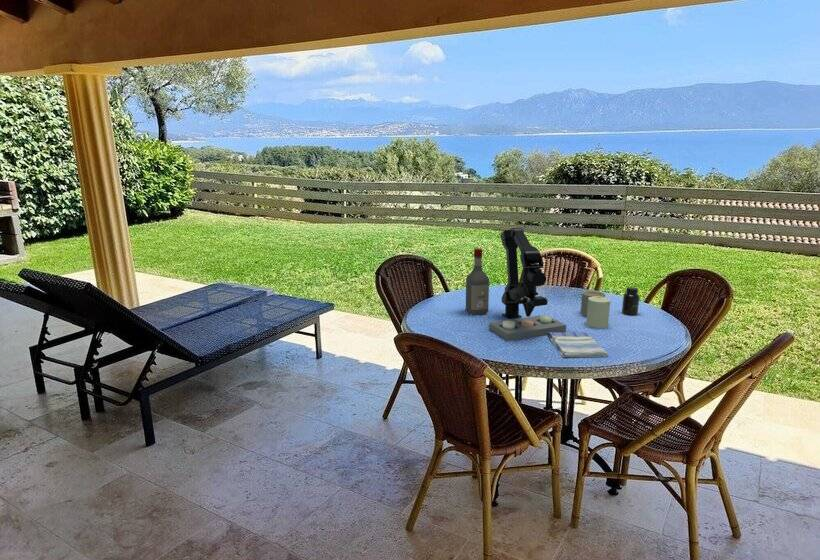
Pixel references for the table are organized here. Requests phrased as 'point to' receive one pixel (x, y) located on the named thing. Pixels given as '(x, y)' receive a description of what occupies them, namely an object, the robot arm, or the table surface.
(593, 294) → the coffee mug
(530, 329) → the button panel
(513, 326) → the cream button
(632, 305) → the supplement bottle
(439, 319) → the table surface
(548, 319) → the sage button
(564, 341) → the dish towel
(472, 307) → the liquor
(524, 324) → the terracotta button
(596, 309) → the sage green canister
